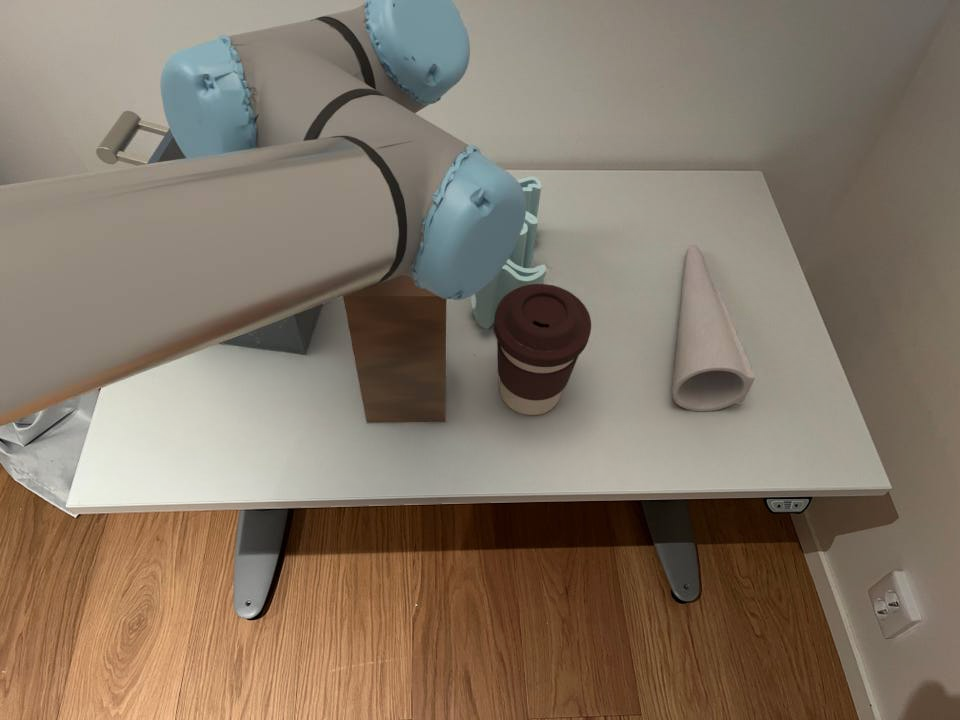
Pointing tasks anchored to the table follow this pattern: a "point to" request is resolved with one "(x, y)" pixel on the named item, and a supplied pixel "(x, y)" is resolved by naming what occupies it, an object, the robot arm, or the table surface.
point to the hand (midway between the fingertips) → (225, 196)
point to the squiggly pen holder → (513, 261)
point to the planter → (707, 345)
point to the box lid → (124, 134)
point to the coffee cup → (538, 345)
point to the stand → (399, 351)
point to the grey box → (282, 333)
